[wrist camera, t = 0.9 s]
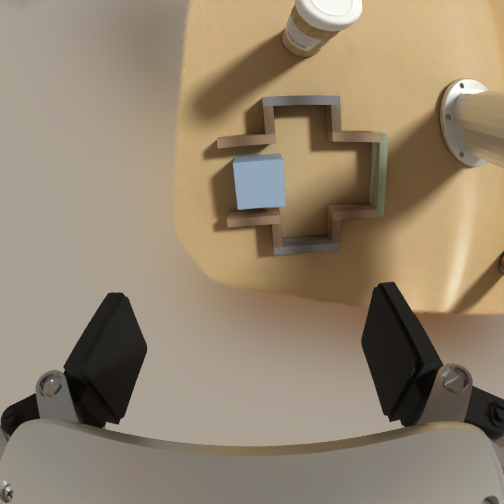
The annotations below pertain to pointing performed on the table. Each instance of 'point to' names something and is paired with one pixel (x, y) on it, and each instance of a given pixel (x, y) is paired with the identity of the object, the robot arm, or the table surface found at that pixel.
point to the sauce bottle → (502, 264)
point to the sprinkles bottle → (318, 24)
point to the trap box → (334, 211)
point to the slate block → (259, 181)
